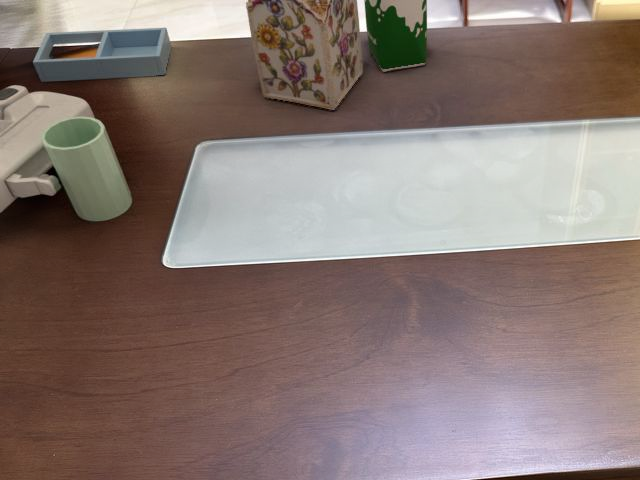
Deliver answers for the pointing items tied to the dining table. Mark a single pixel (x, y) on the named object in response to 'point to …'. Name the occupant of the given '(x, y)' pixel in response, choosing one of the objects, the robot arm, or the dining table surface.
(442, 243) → the dining table surface
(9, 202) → the robot arm
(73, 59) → the divided tray
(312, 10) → the decorative jar
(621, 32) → the dining table surface
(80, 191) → the cup
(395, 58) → the milk carton
